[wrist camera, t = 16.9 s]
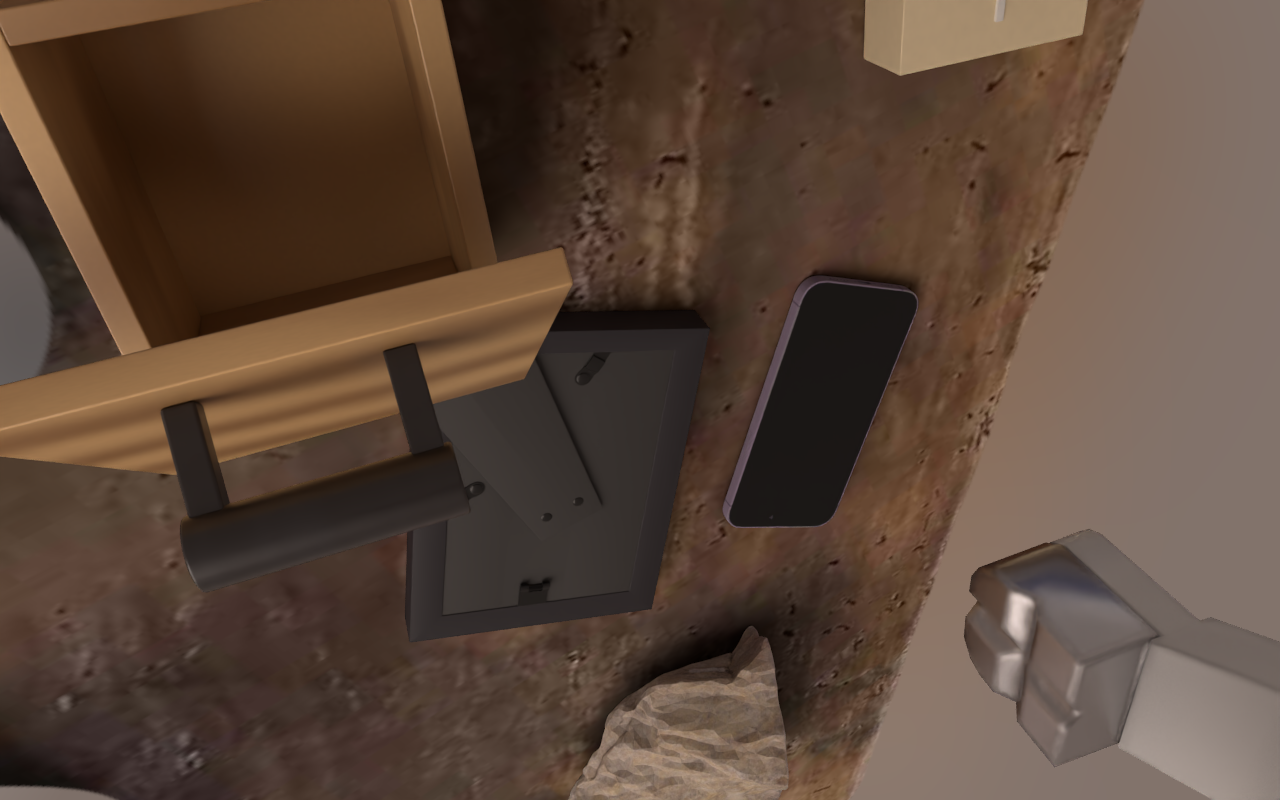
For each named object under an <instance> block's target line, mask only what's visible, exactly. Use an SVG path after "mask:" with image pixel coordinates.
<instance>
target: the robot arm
mask: <svg viewBox="0 0 1280 800" xmlns="http://www.w3.org/2000/svg"><path fill="white" fill-rule="evenodd" d="M969 591H970V593H971V594H972V595H973V596H974V597H975V598H976V599H977V603H976V604H975V605H974V606H973V608H972V609H971V611H970V612H969V613H968V614H967V616H966V619H965V630H964V638H965V642H966V645H967V648H968V652H969V655H970V658H971V660H972V662H973V664H974V666H975V667H976V669H977V671H978V673H979V674H980V676H981V677H982V678H983V680H984V681H985V682H986V683H987V685H988V686H989V687H990V688H991V690H992V691H993V692H995V693H997V694H1000V695H1002V696H1004V697H1006V698H1009V699H1011V700H1013V701H1015V702H1016V709H1017V722H1018V723H1019V724H1020V726H1021V727H1022V728H1023V729H1024V730H1025V732H1026V733H1027V734H1028V735H1029V736H1030V738H1031V739H1032V740H1033V741H1034V743H1035V744H1036V745H1037V746H1038V748H1039V749H1040V750H1041V751H1042V752H1043V754H1045V756H1046V757H1047V758H1048V760H1049V761H1050V762H1051V763H1052V765H1053V766H1054V767H1056V766H1059V765H1062V764H1064V763H1067V762H1069V761H1072V760H1075V759H1078V758H1080V757H1083V756H1086V755H1088V754H1091V753H1093V752H1096V751H1099V750H1101V749H1104V748H1107V747H1109V746H1111V745H1114V744H1117V743H1119V746H1118V747H1119V748H1120V749H1122V750H1124V751H1126V752H1128V753H1129V754H1131V755H1133V756H1135V757H1137V758H1138V759H1140V760H1142V761H1144V762H1145V763H1147V764H1149V765H1151V766H1153V767H1154V768H1157V769H1158V770H1160V771H1162V772H1163V773H1165V774H1167V775H1169V776H1171V777H1172V778H1174V779H1176V780H1178V781H1180V782H1182V783H1183V784H1185V785H1187V786H1189V787H1191V788H1192V789H1194V790H1196V791H1198V792H1200V793H1201V794H1203V795H1205V796H1207V797H1209V798H1210V799H1212V800H1280V642H1279V641H1276V640H1273V639H1271V638H1267V637H1265V636H1262V635H1259V634H1256V633H1254V632H1251V631H1248V630H1245V629H1242V628H1240V627H1237V626H1234V625H1231V624H1228V623H1226V622H1223V621H1220V620H1217V619H1214V618H1212V617H1210V618H1207V619H1204V620H1201V621H1200V620H1198V619H1197V618H1196V617H1195V616H1194V615H1193V614H1192V613H1190V612H1189V611H1188V610H1187V609H1186V608H1185V607H1184V606H1182V605H1181V604H1180V603H1179V602H1178V601H1177V600H1176V599H1175V598H1173V597H1172V596H1171V595H1170V594H1169V593H1168V592H1167V591H1165V590H1164V589H1163V588H1162V587H1161V586H1160V585H1159V584H1158V583H1156V582H1155V581H1154V580H1153V579H1152V578H1151V577H1150V576H1148V575H1147V574H1146V573H1145V572H1144V571H1143V570H1142V569H1141V568H1139V567H1138V566H1137V565H1136V564H1135V563H1134V562H1133V561H1131V560H1130V559H1129V558H1128V557H1127V556H1126V555H1125V554H1123V553H1122V552H1121V551H1120V550H1119V549H1118V548H1117V547H1116V546H1114V545H1113V544H1112V543H1111V542H1110V541H1109V540H1107V539H1106V538H1105V537H1104V536H1103V535H1102V534H1100V533H1098V532H1096V531H1093V530H1090V529H1087V530H1083V531H1079V532H1077V533H1074V534H1071V535H1069V536H1066V537H1063V538H1061V539H1058V540H1056V541H1053V542H1050V543H1043V544H1041V545H1038V546H1036V547H1033V548H1030V549H1028V550H1025V551H1022V552H1020V553H1017V554H1014V555H1011V556H1009V557H1006V558H1004V559H1001V560H998V561H995V562H993V563H990V564H988V565H985V566H982V567H979V568H978V569H977V571H975V573H974V574H973V575H972V577H971V583H970V590H969Z"/></svg>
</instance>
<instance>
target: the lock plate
mask: <svg viewBox="0 0 1280 800" xmlns="http://www.w3.org/2000/svg"><path fill="white" fill-rule="evenodd" d="M1087 3H1088V0H865V31H864V59H865V60H868V61H870V62H872V63H874V64H876V65H878V66H881V67H883V68H885V69H887V70H889V71H891V72H894V73H896V74H898V75H900V76H901V75H905V74H910V73H914V72H919V71H923V70H927V69H932V68H936V67H941V66H945V65H950V64H954V63H959V62H963V61H967V60H972V59H976V58H981V57H985V56H990V55H994V54H999V53H1003V52H1007V51H1012V50H1016V49H1021V48H1025V47H1030V46H1034V45H1039V44H1043V43H1047V42H1052V41H1056V40H1061V39H1065V38H1070V37H1074V36H1079V35H1082V34H1083V28H1084V22H1085V15H1086V9H1087Z"/></svg>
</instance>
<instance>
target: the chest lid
mask: <svg viewBox="0 0 1280 800" xmlns="http://www.w3.org/2000/svg"><path fill="white" fill-rule="evenodd" d="M572 285H573V280H572V276H571V273H570V270H569V266H568V263H567V260H566V256H565V253H564V249H563V248H561V247H559V248H555V249H551V250H547V251H543V252H539V253H535V254H531V255H527V256H523V257H519V258H515V259H511V260H507V261H502V262H498V263H494V264H490V265H486V266H482V267H478V268H474V269H470V270H466V271H462V272H458V273H454V274H450V275H446V276H442V277H438V278H434V279H430V280H425V281H421V282H417V283H413V284H409V285H405V286H401V287H397V288H393V289H389V290H385V291H381V292H377V293H373V294H369V295H365V296H361V297H357V298H353V299H348V300H344V301H340V302H336V303H332V304H328V305H324V306H320V307H316V308H312V309H308V310H304V311H300V312H296V313H292V314H288V315H284V316H280V317H276V318H271V319H267V320H263V321H259V322H255V323H251V324H247V325H243V326H239V327H235V328H231V329H227V330H223V331H219V332H215V333H211V334H207V335H203V336H199V337H194V338H190V339H186V340H182V341H178V342H174V343H170V344H166V345H162V346H158V347H154V348H150V349H146V350H142V351H138V352H134V353H130V354H126V355H122V356H117V357H113V358H109V359H105V360H101V361H97V362H93V363H89V364H85V365H81V366H77V367H73V368H69V369H65V370H61V371H57V372H53V373H49V374H45V375H40V376H36V377H32V378H28V379H24V380H20V381H17V382H13V383H9V384H4V385H0V456H1V457H11V458H20V459H30V460H39V461H49V462H58V463H68V464H77V465H87V466H96V467H106V468H115V469H125V470H134V471H144V472H154V473H163V474H173V475H176V474H177V477H178V481H179V484H180V488H181V492H182V495H183V499H184V503H185V506H186V510H187V514H188V516H186V517H184V518H183V519H182V521H181V525H180V540H181V547H182V552H183V556H184V559H185V563H186V566H187V568H188V571H189V573H190V575H191V577H192V579H193V581H194V583H195V584H196V586H197V587H198V588H199V589H200V590H201V591H202V592H210V591H214V590H217V589H220V588H224V587H227V586H230V585H234V584H237V583H240V582H244V581H247V580H250V579H254V578H257V577H260V576H263V575H267V574H270V573H273V572H277V571H280V570H283V569H287V568H290V567H293V566H297V565H300V564H303V563H307V562H310V561H313V560H317V559H320V558H323V557H326V556H330V555H333V554H336V553H340V552H343V551H346V550H350V549H353V548H356V547H360V546H363V545H366V544H370V543H373V542H376V541H380V540H383V539H386V538H389V537H393V536H396V535H399V534H403V533H406V532H409V531H413V530H416V529H419V528H423V527H426V526H429V525H433V524H436V523H439V522H442V521H446V520H449V519H452V518H456V517H459V516H462V515H466V514H468V513H470V510H471V509H470V505H469V501H468V498H467V494H466V491H465V487H464V484H463V480H462V477H461V473H460V470H459V466H458V463H457V459H456V456H455V453H454V449H453V446H452V444H451V442H445V443H444V441H443V438H442V434H441V431H440V427H439V424H438V420H437V417H436V413H435V410H434V406H433V404H435V403H438V402H442V401H446V400H449V399H453V398H457V397H460V396H464V395H468V394H471V393H475V392H478V391H482V390H486V389H489V388H493V387H497V386H500V385H504V384H508V383H511V382H515V381H518V380H522V379H524V378H525V377H526V375H527V373H528V371H529V369H530V367H531V365H532V363H533V361H534V359H535V357H536V355H537V353H538V351H539V349H540V347H541V345H542V343H543V341H544V339H545V338H546V336H547V334H548V332H549V330H550V328H551V326H552V324H553V322H554V320H555V318H556V316H557V314H558V312H559V310H560V308H561V306H562V304H563V302H564V300H565V298H566V296H567V294H568V292H569V290H570V289H571V287H572ZM398 413H400V415H401V418H402V422H403V425H404V429H405V432H406V436H407V439H408V443H409V446H410V450H411V452H410V453H406V454H403V455H399V456H396V457H392V458H389V459H385V460H382V461H378V462H375V463H371V464H367V465H364V466H360V467H357V468H353V469H350V470H346V471H343V472H339V473H336V474H332V475H329V476H325V477H322V478H318V479H315V480H311V481H308V482H304V483H301V484H297V485H294V486H290V487H287V488H283V489H279V490H276V491H272V492H269V493H265V494H262V495H258V496H255V497H251V498H248V499H244V500H241V501H237V502H234V503H230V502H229V499H228V495H227V491H226V488H225V484H224V480H223V477H222V473H221V469H220V466H219V463H220V462H224V461H227V460H231V459H235V458H238V457H242V456H245V455H249V454H253V453H256V452H260V451H264V450H267V449H271V448H275V447H278V446H282V445H286V444H289V443H293V442H296V441H300V440H304V439H307V438H311V437H315V436H318V435H322V434H326V433H329V432H333V431H336V430H340V429H344V428H347V427H351V426H355V425H358V424H362V423H366V422H369V421H373V420H377V419H380V418H384V417H387V416H391V415H395V414H398Z"/></svg>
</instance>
